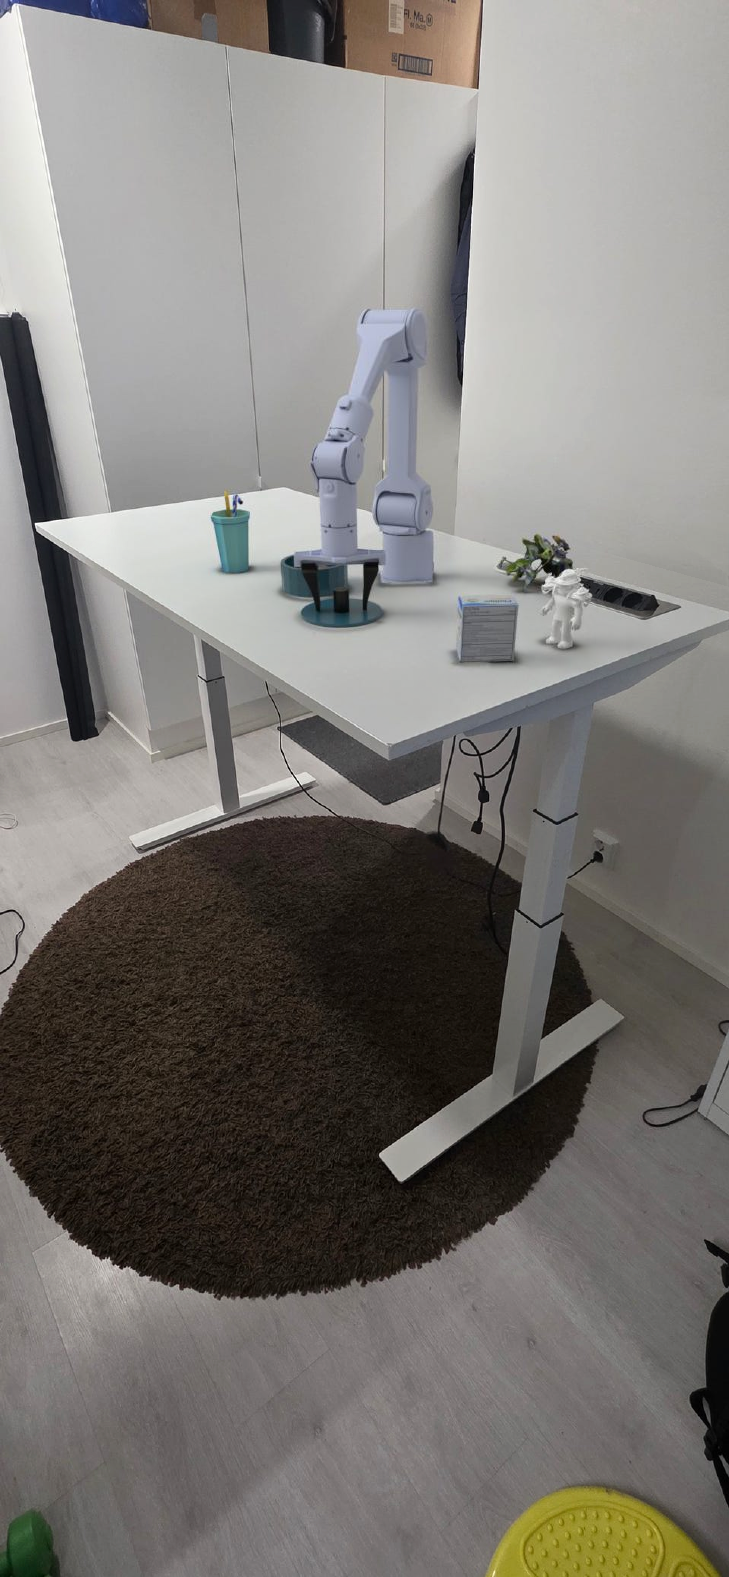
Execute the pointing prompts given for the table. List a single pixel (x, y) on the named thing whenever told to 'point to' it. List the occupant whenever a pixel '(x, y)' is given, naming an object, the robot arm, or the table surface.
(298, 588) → the pot
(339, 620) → the lid
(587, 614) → the table surface
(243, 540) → the cup
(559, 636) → the hat wearing toy figure
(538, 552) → the passion flower
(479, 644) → the medicine box
